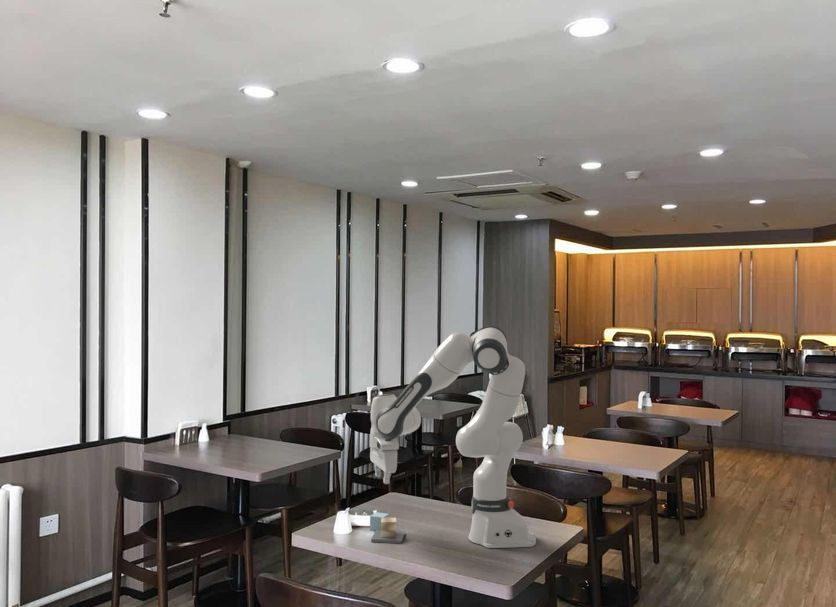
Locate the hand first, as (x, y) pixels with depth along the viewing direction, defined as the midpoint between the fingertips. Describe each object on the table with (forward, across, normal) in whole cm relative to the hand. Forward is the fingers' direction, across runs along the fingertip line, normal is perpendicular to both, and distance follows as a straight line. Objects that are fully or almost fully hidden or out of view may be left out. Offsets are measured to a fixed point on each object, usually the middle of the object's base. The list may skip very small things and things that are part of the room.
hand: (382, 480), depth 235 cm
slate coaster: (+18, +8, 0) cm, 19 cm away
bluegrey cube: (+18, -2, 0) cm, 18 cm away
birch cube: (+17, +8, 0) cm, 18 cm away
